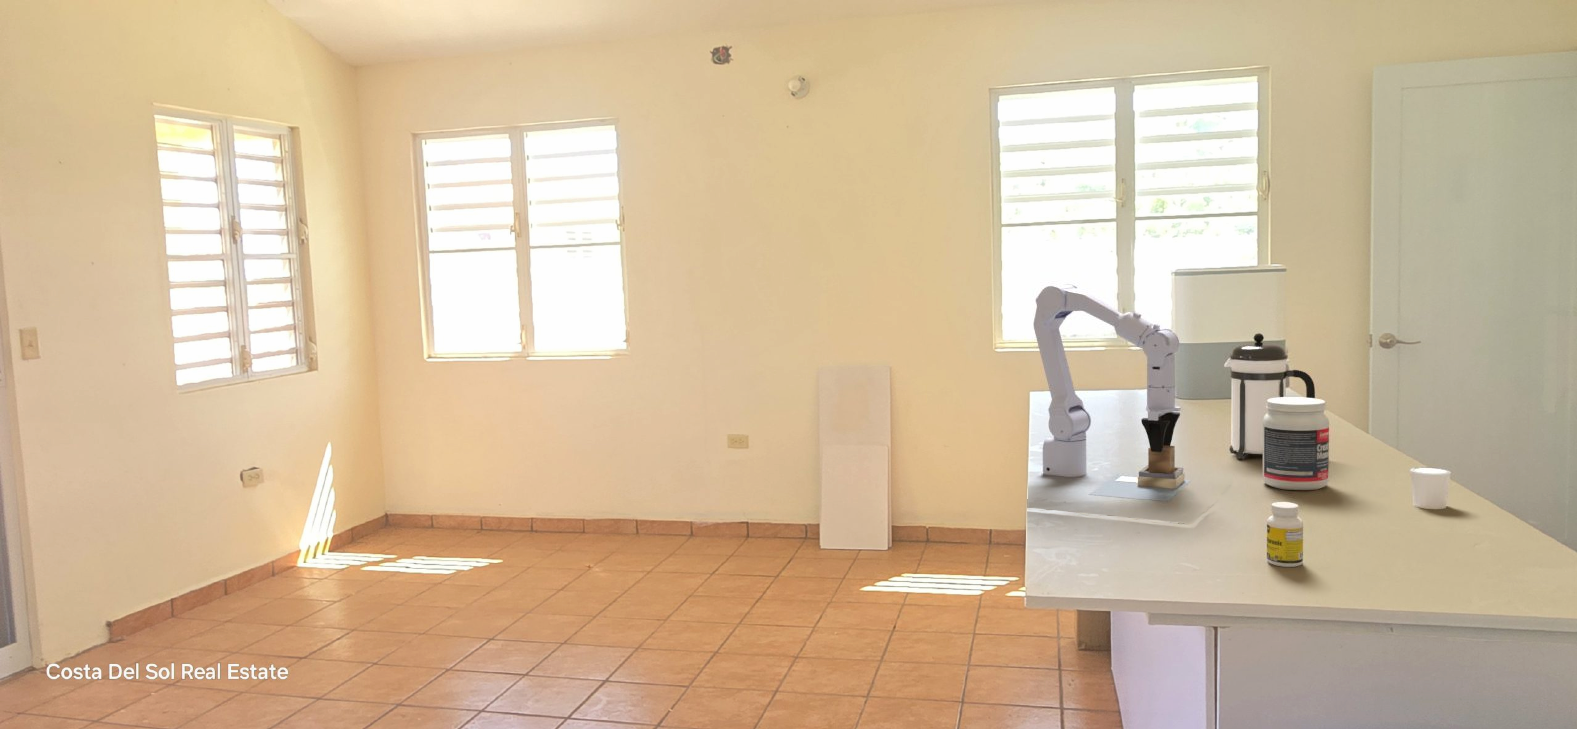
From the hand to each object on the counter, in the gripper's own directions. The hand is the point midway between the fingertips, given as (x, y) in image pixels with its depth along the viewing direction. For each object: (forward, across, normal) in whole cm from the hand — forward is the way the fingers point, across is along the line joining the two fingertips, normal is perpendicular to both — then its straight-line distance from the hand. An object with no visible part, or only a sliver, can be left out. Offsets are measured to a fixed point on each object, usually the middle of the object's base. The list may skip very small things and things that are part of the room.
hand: (1160, 448), depth 232 cm
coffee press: (+9, +43, -14) cm, 46 cm away
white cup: (+8, +3, -50) cm, 51 cm away
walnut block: (+6, 0, 0) cm, 6 cm away
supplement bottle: (+9, -48, -31) cm, 58 cm away
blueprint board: (+8, -5, +3) cm, 10 cm away
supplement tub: (+9, +12, -25) cm, 29 cm away
